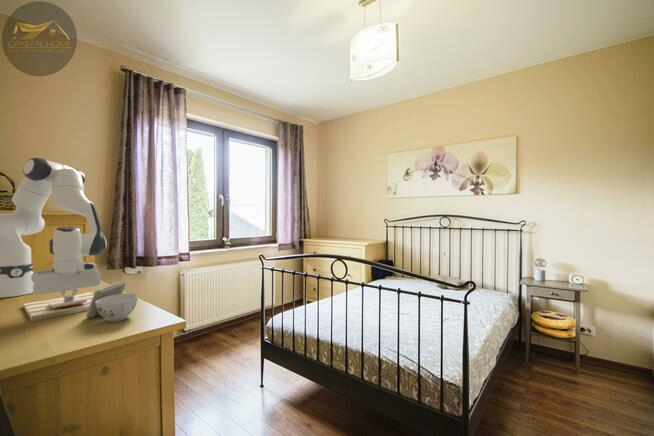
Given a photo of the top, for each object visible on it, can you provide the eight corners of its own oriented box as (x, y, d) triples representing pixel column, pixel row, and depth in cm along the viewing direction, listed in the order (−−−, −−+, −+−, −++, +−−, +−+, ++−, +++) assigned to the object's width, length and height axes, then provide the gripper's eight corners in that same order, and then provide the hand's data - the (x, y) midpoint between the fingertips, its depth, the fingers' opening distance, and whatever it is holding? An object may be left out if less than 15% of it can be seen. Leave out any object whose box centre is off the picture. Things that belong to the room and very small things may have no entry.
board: (23, 306, 119) (23, 303, 119) (90, 295, 137) (90, 292, 137) (32, 321, 103) (32, 317, 103) (107, 306, 120) (106, 302, 120)
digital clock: (114, 305, 122) (114, 280, 122) (134, 305, 121) (134, 280, 121) (77, 319, 106) (77, 290, 106) (99, 320, 105) (99, 291, 105)
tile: (53, 305, 110) (53, 308, 110) (86, 299, 118) (86, 301, 118) (48, 302, 116) (48, 305, 116) (80, 297, 124) (80, 299, 124)
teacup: (91, 320, 105) (90, 298, 105) (130, 311, 115) (130, 291, 115) (104, 330, 96) (104, 306, 96) (145, 319, 106) (145, 297, 105)
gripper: (32, 271, 106) (33, 309, 106) (101, 264, 122) (101, 296, 122) (30, 269, 110) (30, 306, 110) (97, 262, 126) (97, 294, 126)
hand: (68, 301), depth 116 cm, fingers closed, pressing on tile
